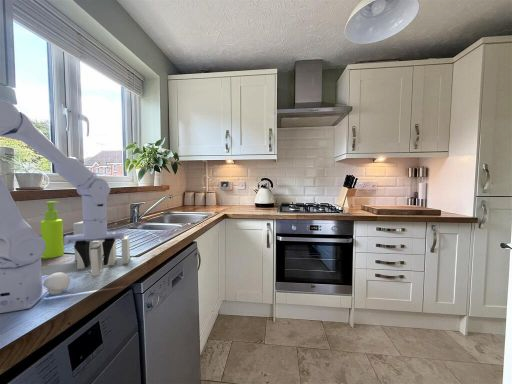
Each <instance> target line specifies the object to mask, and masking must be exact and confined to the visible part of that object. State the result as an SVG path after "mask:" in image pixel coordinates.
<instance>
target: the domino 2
mask: <svg viewBox="0 0 512 384" xmlns="http://www.w3.org/2000/svg"><path fill="white" fill-rule="evenodd" d="M95 244H101V248H102V240H99V241H93V242H92V247H93V246H94V245H95ZM103 260H104V254H102V262H103Z"/></svg>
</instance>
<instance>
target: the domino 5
mask: <svg viewBox="0 0 512 384" xmlns="http://www.w3.org/2000/svg"><path fill="white" fill-rule="evenodd" d="M124 236H125V238H124V239H121V258H122V264H125V263H128V262H129V263H130V261H129V260H131V259H130V257H131V253H130V250H131V249H130V235H124ZM129 263H128V264H129Z"/></svg>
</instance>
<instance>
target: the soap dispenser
mask: <svg viewBox="0 0 512 384" xmlns="http://www.w3.org/2000/svg"><path fill="white" fill-rule="evenodd" d="M55 204H60V200H59V201H58V200H49V201H46V202H45V205H47V210H46V211H44V217H45V219H44V220H41V221H40V235H41V236H40V237H41V238H42V239H43V240H44V241H45V244H46V248H45V251H44V253H43V255H42V256H41V259H52V258H58V257H61V256H64V254H65V246H64V245H65V244H64V227H63V226H64V224H63V222H64V221H63V219H60V218H59V215H58V214H59V213H58V210H57V209H55Z"/></svg>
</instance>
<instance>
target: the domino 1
mask: <svg viewBox="0 0 512 384" xmlns="http://www.w3.org/2000/svg"><path fill="white" fill-rule="evenodd" d="M76 263H77V269H82V268H85V266H84V263H83V260H82V258H81V256H80V254H79V253H78V251H77V260H76Z"/></svg>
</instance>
